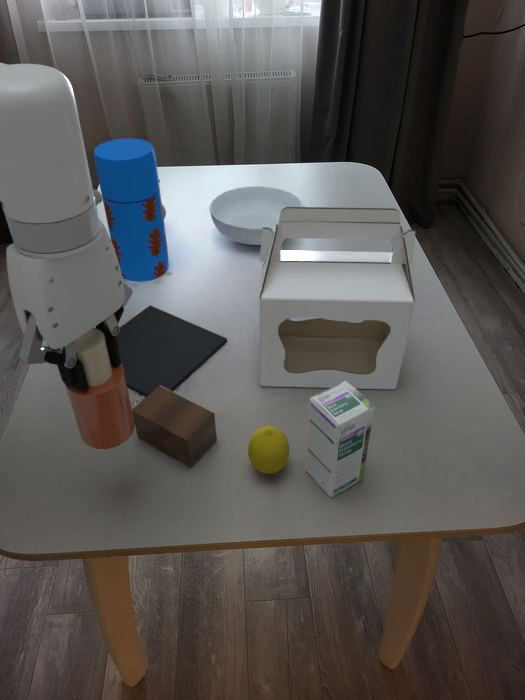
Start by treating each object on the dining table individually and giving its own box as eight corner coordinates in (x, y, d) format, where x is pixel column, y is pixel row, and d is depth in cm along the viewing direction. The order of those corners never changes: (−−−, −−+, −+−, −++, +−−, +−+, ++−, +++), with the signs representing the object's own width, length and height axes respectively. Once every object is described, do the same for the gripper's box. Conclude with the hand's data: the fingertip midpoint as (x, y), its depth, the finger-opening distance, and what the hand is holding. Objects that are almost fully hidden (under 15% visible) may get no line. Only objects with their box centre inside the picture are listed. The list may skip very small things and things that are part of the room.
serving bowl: (296, 261, 118) (298, 232, 114) (201, 252, 121) (198, 224, 116) (308, 215, 134) (309, 188, 129) (223, 209, 136) (221, 182, 132)
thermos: (107, 266, 117) (82, 148, 100) (150, 248, 122) (133, 133, 106) (135, 288, 111) (113, 166, 94) (179, 268, 116) (165, 149, 100)
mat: (78, 361, 94) (77, 358, 94) (150, 308, 106) (150, 305, 105) (159, 403, 87) (158, 400, 86) (227, 341, 98) (227, 338, 97)
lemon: (276, 491, 74) (277, 453, 69) (241, 474, 76) (239, 436, 71) (295, 462, 78) (297, 424, 73) (260, 447, 80) (260, 409, 75)
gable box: (258, 387, 89) (256, 230, 71) (261, 335, 99) (261, 186, 81) (397, 390, 89) (432, 233, 70) (386, 337, 99) (414, 188, 80)
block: (137, 438, 81) (131, 410, 78) (164, 412, 85) (160, 384, 81) (191, 468, 77) (187, 440, 73) (217, 440, 81) (214, 412, 77)
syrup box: (330, 499, 73) (340, 426, 64) (303, 469, 77) (309, 395, 68) (363, 479, 76) (377, 406, 66) (335, 451, 79) (345, 377, 70)
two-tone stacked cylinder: (86, 439, 69) (3, 414, 56) (134, 354, 71) (65, 311, 58) (124, 462, 67) (47, 441, 54) (172, 373, 69) (109, 333, 56)
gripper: (95, 179, 56) (122, 322, 68) (-58, 250, 45) (7, 405, 57) (151, 198, 53) (169, 345, 65) (1, 280, 42) (56, 437, 54)
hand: (93, 372), depth 61 cm, fingers closed on two-tone stacked cylinder, 4 cm apart
